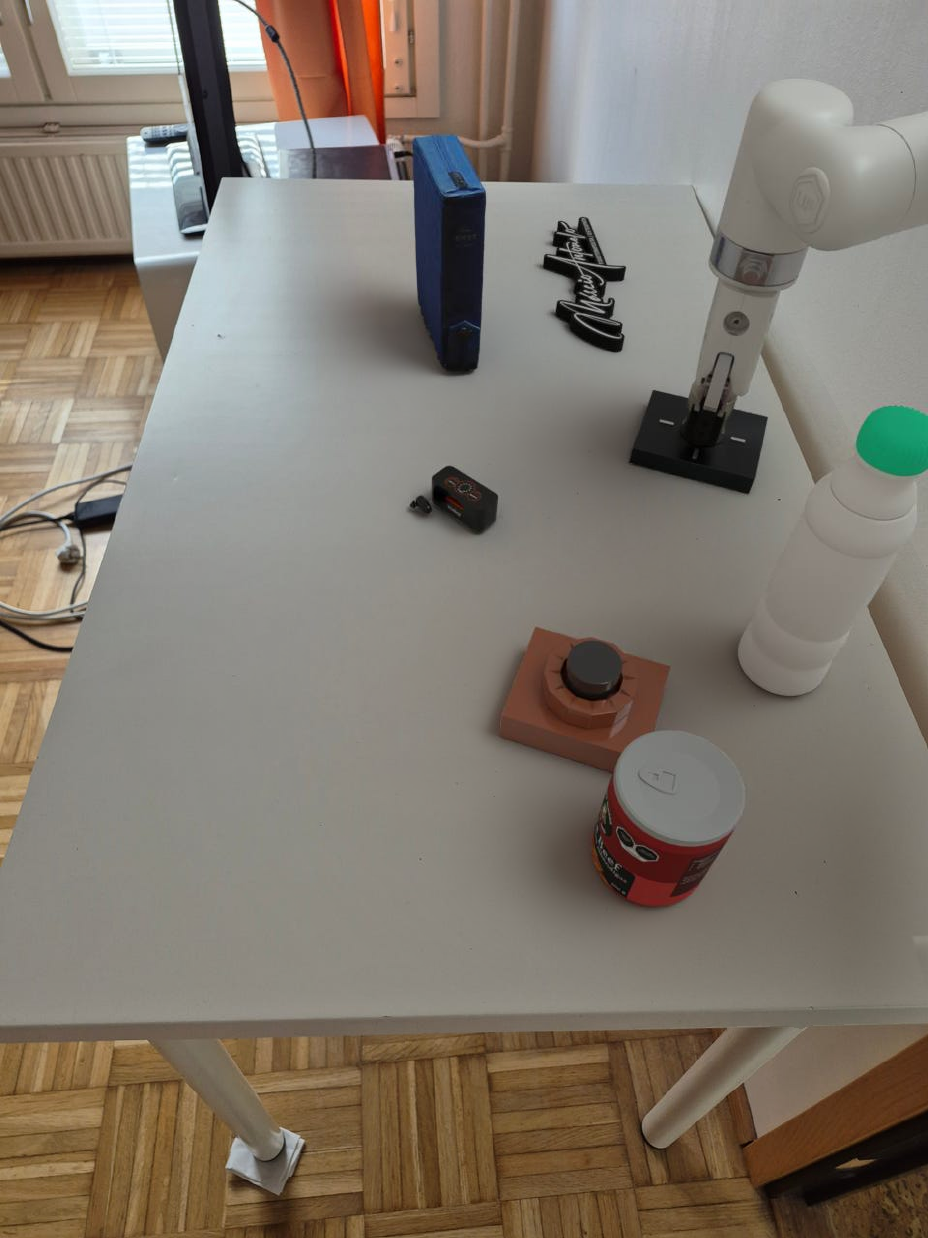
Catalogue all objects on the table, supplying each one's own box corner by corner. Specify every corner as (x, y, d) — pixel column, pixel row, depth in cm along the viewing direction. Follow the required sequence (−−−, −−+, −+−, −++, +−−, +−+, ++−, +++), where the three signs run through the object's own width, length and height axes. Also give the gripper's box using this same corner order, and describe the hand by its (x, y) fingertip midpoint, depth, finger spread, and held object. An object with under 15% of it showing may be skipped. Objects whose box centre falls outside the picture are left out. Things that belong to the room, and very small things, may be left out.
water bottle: (788, 715, 70) (929, 479, 51) (718, 659, 73) (825, 418, 54) (838, 668, 73) (990, 430, 54) (769, 617, 76) (888, 374, 57)
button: (622, 665, 67) (627, 649, 65) (610, 707, 65) (615, 691, 63) (571, 650, 68) (575, 633, 66) (558, 690, 65) (561, 675, 64)
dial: (684, 413, 90) (696, 369, 86) (727, 423, 89) (742, 379, 85) (676, 439, 88) (688, 395, 83) (720, 450, 87) (735, 406, 83)
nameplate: (657, 338, 99) (569, 342, 98) (654, 350, 100) (568, 353, 99) (604, 215, 116) (529, 217, 115) (602, 227, 117) (528, 229, 116)
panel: (762, 431, 92) (768, 415, 90) (749, 494, 86) (755, 477, 84) (649, 404, 94) (653, 387, 92) (628, 463, 88) (632, 446, 86)
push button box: (662, 687, 71) (676, 650, 67) (638, 781, 66) (651, 746, 62) (531, 648, 73) (537, 610, 69) (498, 736, 68) (503, 700, 64)
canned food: (585, 805, 65) (610, 725, 56) (694, 810, 65) (736, 731, 56) (591, 908, 60) (619, 839, 51) (709, 913, 60) (757, 845, 51)
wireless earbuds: (442, 485, 85) (442, 459, 83) (498, 521, 82) (501, 496, 80) (408, 510, 83) (408, 484, 80) (465, 548, 80) (467, 523, 78)
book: (485, 374, 96) (497, 190, 81) (438, 380, 95) (440, 195, 80) (455, 301, 105) (460, 122, 89) (411, 306, 104) (408, 126, 88)
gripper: (791, 315, 68) (727, 490, 82) (814, 214, 78) (753, 386, 92) (695, 293, 69) (648, 469, 84) (729, 197, 79) (682, 369, 94)
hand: (704, 424), depth 88 cm, fingers closed on dial, 4 cm apart
